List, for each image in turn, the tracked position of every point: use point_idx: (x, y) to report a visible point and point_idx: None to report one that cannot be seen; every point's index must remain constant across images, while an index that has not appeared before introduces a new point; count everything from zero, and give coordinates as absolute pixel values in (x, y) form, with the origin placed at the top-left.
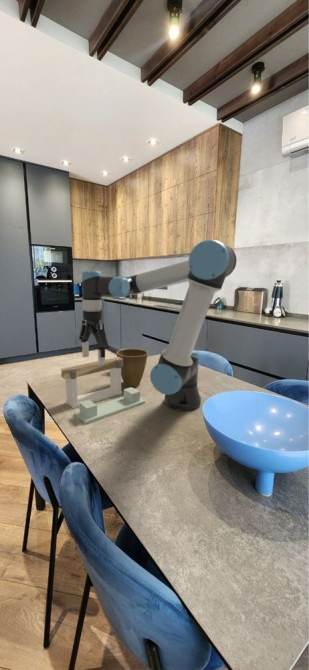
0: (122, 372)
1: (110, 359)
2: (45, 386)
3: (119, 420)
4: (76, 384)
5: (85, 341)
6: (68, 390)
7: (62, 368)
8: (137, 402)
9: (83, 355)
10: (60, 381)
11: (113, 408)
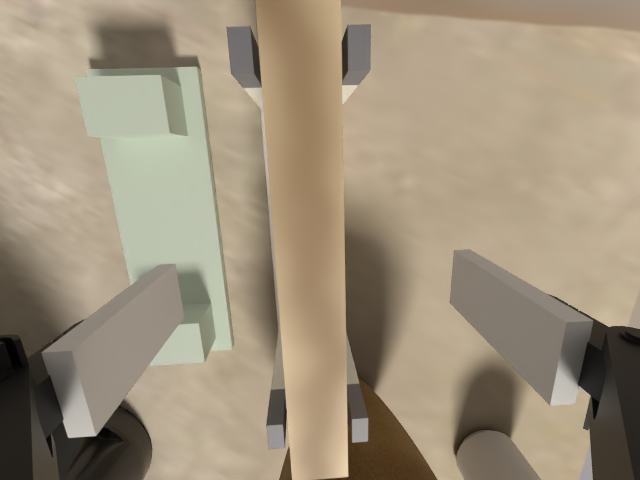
0: None
1: (326, 411)
2: (579, 81)
3: (61, 201)
4: (250, 95)
5: (587, 377)
6: None
7: None
8: None
9: (462, 258)
10: (581, 168)
11: (143, 224)
